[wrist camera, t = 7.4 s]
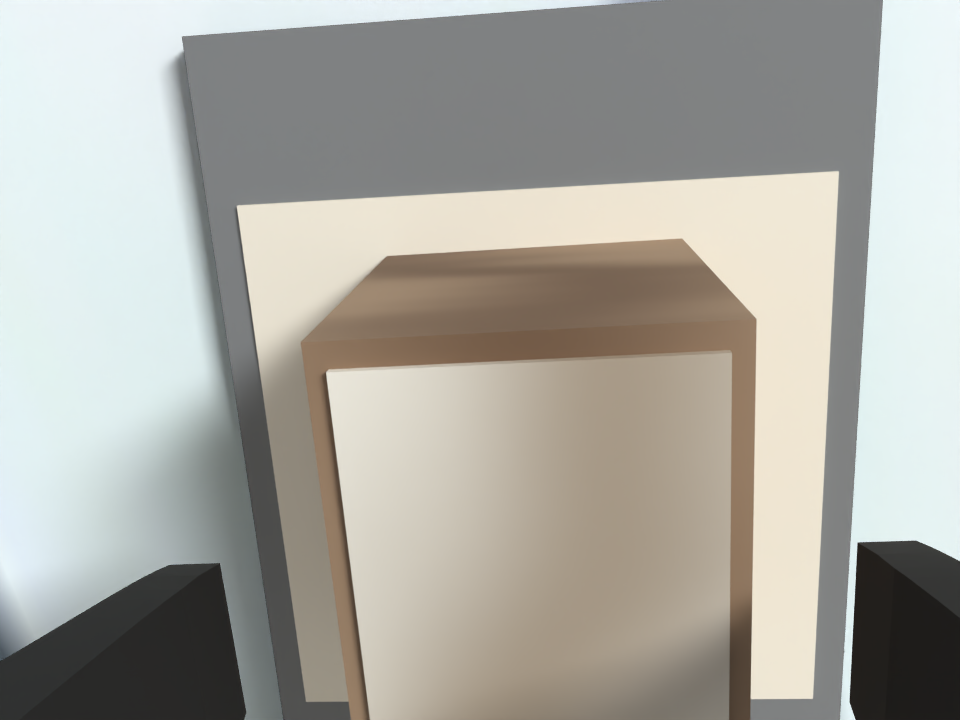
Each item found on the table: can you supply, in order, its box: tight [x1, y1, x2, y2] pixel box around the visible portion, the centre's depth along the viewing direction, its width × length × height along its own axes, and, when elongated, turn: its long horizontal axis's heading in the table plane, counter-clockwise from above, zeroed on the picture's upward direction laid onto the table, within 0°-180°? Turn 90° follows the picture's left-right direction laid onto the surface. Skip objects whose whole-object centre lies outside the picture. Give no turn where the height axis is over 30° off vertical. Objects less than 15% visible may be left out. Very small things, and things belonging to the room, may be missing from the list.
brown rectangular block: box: [301, 238, 757, 720], centre depth 12 cm, size 4×7×5 cm, turn 4°
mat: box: [182, 0, 883, 720], centre depth 15 cm, size 14×10×1 cm
